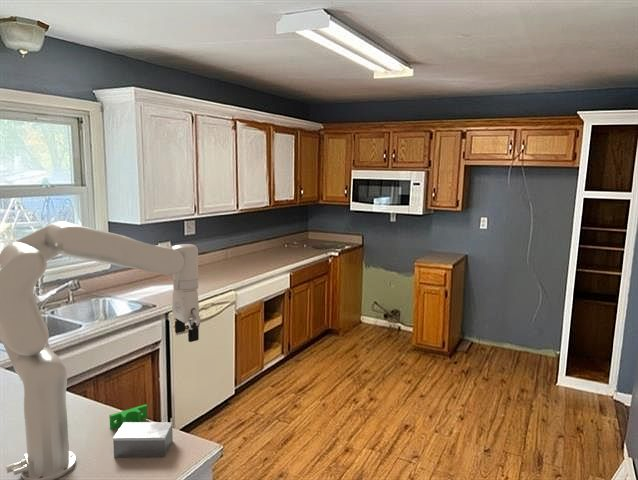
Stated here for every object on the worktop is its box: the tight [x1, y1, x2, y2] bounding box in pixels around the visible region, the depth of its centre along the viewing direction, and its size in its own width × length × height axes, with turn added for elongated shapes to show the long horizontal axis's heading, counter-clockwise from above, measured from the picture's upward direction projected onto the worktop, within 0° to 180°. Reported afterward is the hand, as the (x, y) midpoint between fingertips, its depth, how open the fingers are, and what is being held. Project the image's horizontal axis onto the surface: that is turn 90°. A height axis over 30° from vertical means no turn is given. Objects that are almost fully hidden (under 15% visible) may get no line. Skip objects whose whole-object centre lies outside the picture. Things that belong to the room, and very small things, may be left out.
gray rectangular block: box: [112, 421, 174, 459], centre depth 133 cm, size 14×8×6 cm, turn 93°
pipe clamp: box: [109, 403, 148, 431], centre depth 146 cm, size 11×4×5 cm, turn 131°
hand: (186, 336), depth 148 cm, fingers open, 9 cm apart
